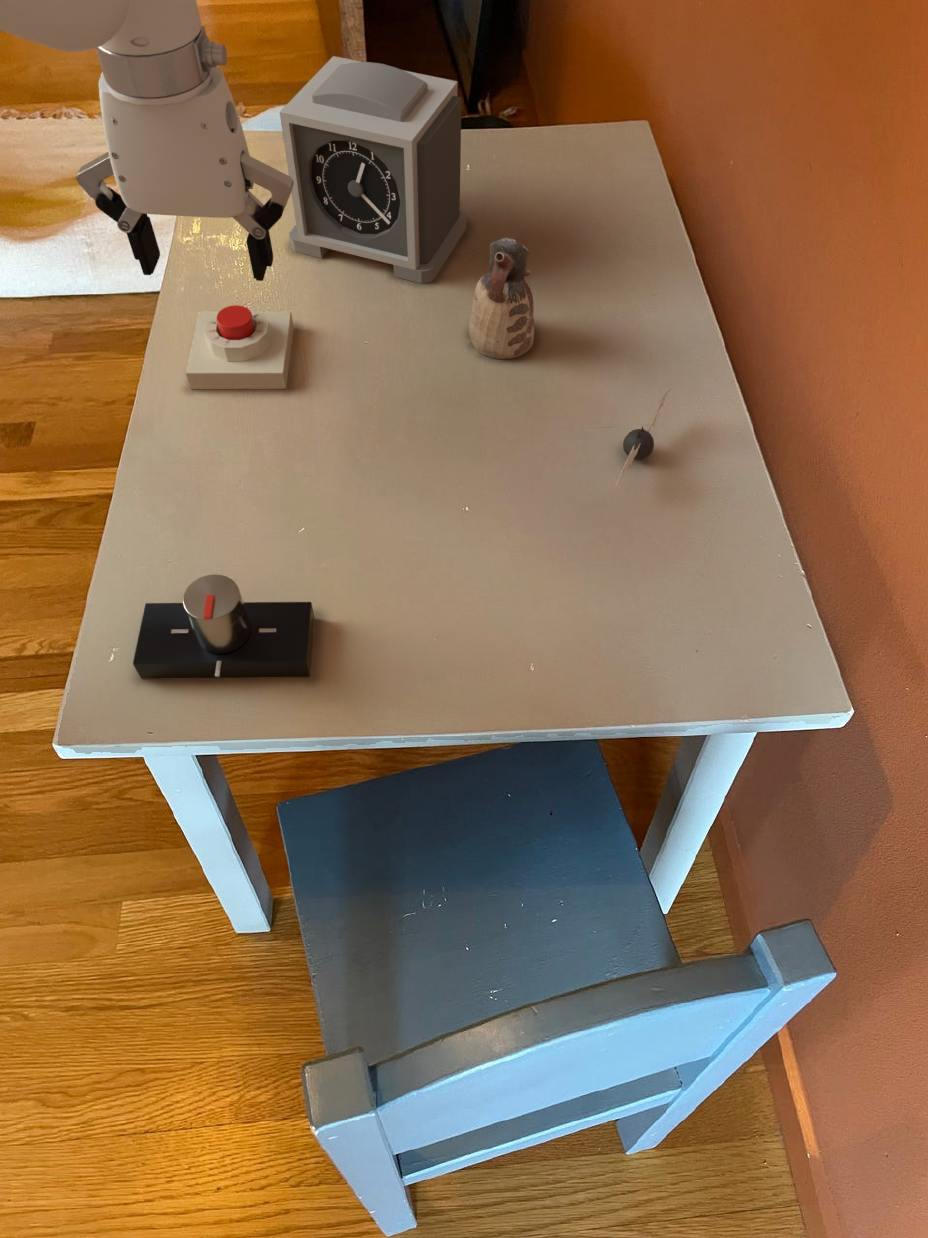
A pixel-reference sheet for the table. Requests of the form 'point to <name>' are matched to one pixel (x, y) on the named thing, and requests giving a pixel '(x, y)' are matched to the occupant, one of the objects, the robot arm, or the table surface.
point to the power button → (235, 322)
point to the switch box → (241, 353)
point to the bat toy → (640, 441)
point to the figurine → (503, 304)
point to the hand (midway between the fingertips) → (207, 268)
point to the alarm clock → (376, 166)
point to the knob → (217, 613)
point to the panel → (267, 652)
